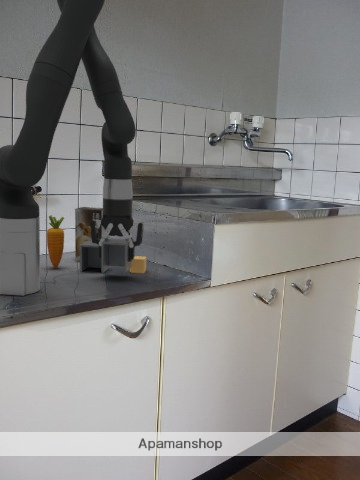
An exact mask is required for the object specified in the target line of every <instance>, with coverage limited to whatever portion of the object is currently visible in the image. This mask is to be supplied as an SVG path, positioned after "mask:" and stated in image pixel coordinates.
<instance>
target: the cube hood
mask: <svg viewBox="0 0 360 480" xmlns="http://www.w3.org/2000/svg"><path fill="white" fill-rule="evenodd" d="M128 248H129V245H128V242H127V241H126V240H125V238H118V237H117V238H113V237H110V238H108V239H107V240H106V241H102V255H101V268H100V270H101V272H102V271H104V270H105V269H106V268H107V267H108V266H109V267H123V268H124V273H127V272H128V271H130V268H131V262H128Z"/></svg>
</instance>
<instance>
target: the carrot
mask: <svg viewBox="0 0 360 480" xmlns="http://www.w3.org/2000/svg"><path fill="white" fill-rule="evenodd" d="M48 219H49V221H50V222H48V224H49V225H50V226H51V227H49V228H48V229H47V230H46V245H47V253H48V256H49V261H50V263H51V265H52V267H53V268H54V269H57V268H58V266H60V263H61V261H62V259H63V255H64V254H63V253H64V247H65V231H64V229H62V228H61V227H60V225H62V223H63V221H64V219H65V218H64V216H61V217H60V219H58V220H57V218H56V217H55V216H53V215H52V214H50V215H49V216H48Z"/></svg>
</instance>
